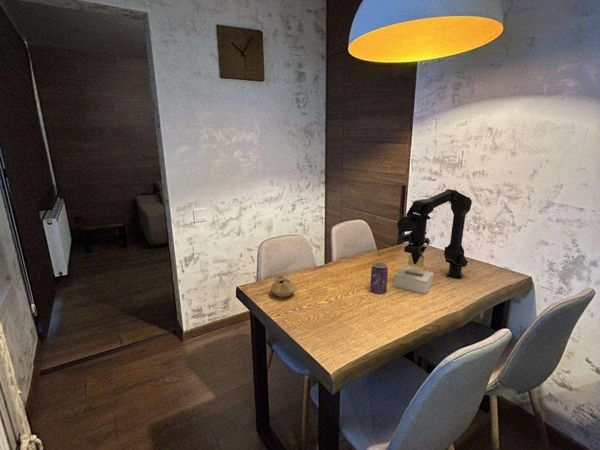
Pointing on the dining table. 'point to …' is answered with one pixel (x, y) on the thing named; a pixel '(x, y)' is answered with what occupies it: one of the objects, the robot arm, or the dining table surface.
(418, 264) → the two-tone wooden block
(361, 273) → the dining table surface
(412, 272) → the moneybox
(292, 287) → the oil lamp
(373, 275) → the beverage can
